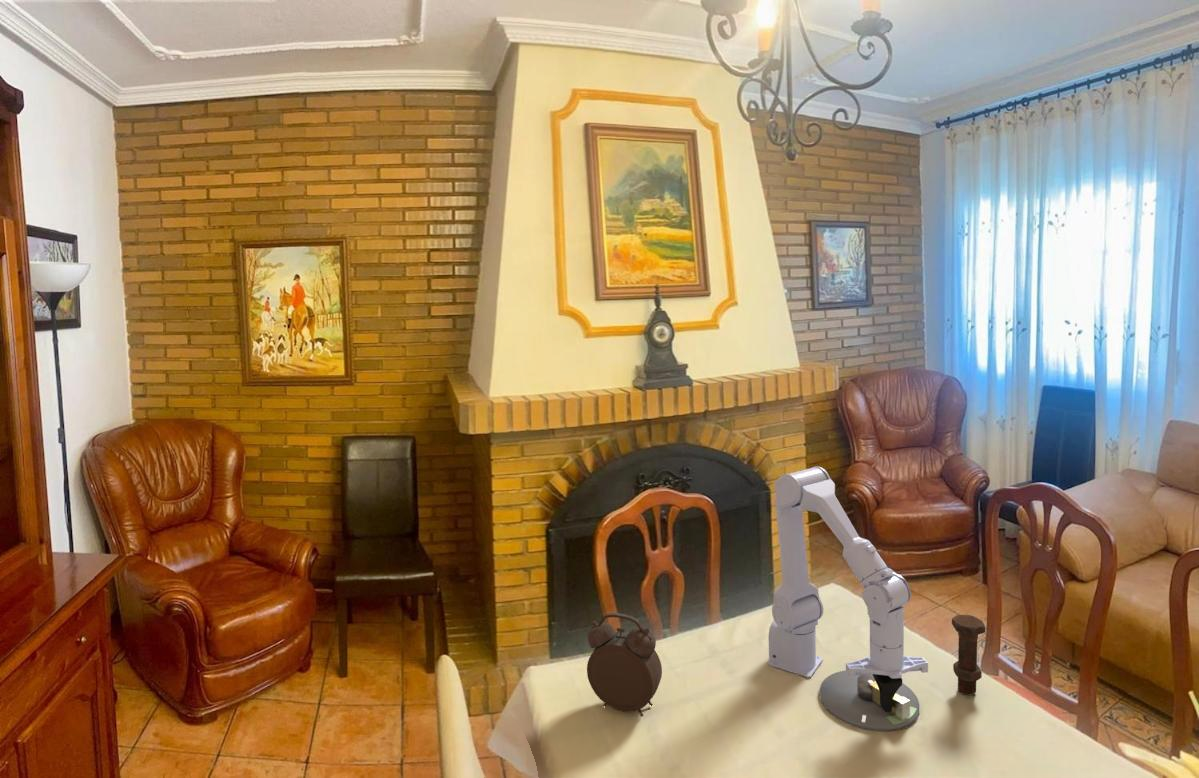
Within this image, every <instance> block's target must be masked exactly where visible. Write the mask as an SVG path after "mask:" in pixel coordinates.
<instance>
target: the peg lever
mask: <svg viewBox="0 0 1199 778" xmlns="http://www.w3.org/2000/svg"><path fill="white" fill-rule="evenodd" d="M857 694H858V696H859V697H860V698H862V699H864V700H866V701H875V702H876V703H878V704H879V705H880V691H879V688H878V686H877V683H876V681H875V679H874V677H873V676H871V675H861V676H859V677H858V678H857ZM891 713H893V714H895V715H896V716H897V717H899V718H900V719H902V720H903V719H905V718H907V717H910V700H908V699H907V698H905V697H901V696H900V695H898V694H896V693H895V695H894V697H893V700H892V712H891Z"/></svg>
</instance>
